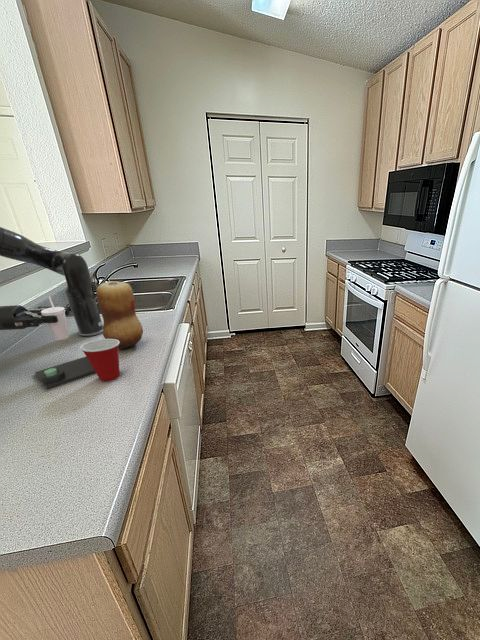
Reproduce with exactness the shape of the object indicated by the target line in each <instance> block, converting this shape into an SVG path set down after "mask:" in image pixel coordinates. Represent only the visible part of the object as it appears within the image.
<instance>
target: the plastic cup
mask: <svg viewBox="0 0 480 640" xmlns="http://www.w3.org/2000/svg"><path fill="white" fill-rule="evenodd" d="M119 343H120V342H119V340H116V339H105V338H100V339H94V340H90V341H87V342H85V343H82V344H81V345H80V346H79V349H80V351H81V352H82V353H83V354H84V355H85V357H87V358H88V360H89V362H90V364H91V365H92V367H93V369H94V371H95V372H96V373H95V374H96V376H97V377H98V379H99V380H100V381H101V382H111V381H114V380H116V379H118V378H119V377H120V373H121V372H120V359H119V358H120V357H119V349H118V348H119V347H118V346H119Z"/></svg>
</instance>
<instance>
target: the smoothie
mask: <svg viewBox="0 0 480 640" xmlns="http://www.w3.org/2000/svg"><path fill="white" fill-rule="evenodd" d="M48 300H49V303H50V306H52V308H47V309H44V310H42V311H41V313H42V315H43V316H51V315H56V316H57V318H58V322H57V323H47V325H48V326H49V328H50V330H51V332H52V334H53V336H54V337H55V340H57V341H64V340H66V339H69V338H70V332H69V328H68V327H69V326H68V321H67V317H66V316H67V315H65V311H66V310H65V308H66V307H63V306H56V307H54V306H55V305H54V302H53V299H52V297H51V295H49V296H48Z"/></svg>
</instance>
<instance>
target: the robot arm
mask: <svg viewBox="0 0 480 640" xmlns="http://www.w3.org/2000/svg"><path fill="white" fill-rule="evenodd" d="M0 257H3V258H6V259H10V260H13V261H18V262H23V263H27V264H31V265H32V264H33V265H36V266H39V267H42V268H44V269H46V270H49V271H52V272H54V273H56V274H59V275H61V276H64V279H65V282H66V286H65V288H64V292H65V295H66V298H67V302H68V303H69V304H68V305H67V304H66V305H67V306H66V305H65V307H64V308H65V310H66V311H65V316H69V315H70V311H71V313H72V315H73V318H74V321H75V324H76V327H77V331H78V334H79V336H80V337H92V336H97V335H101V334H103V326H104V323H103V321H102V318H101V313H100V310H99V307H98V305H97V304H98V303H97V301H96V299H95V298H96V297H95V295H94V292H93V287H92V286H93V282H92V278H91V277H92V276H91V273H90V269H89V266H88V264H87V261H86V260H85V258H84V257H83V256H81V255H80V254H78V253H75V252H67V251H60V250H57V249H53V248H49V247H46V246H44V245H40V244H38V243H37V242H34V241H33V240H31V239H29V238H27V237H26V236H24V235H22V234H20V233H17V232H15V231H12V230H10V229H7V228H4V227H2V226H0ZM54 307H57V305H54ZM47 308H52V305H50V306H37V308H31V309H27V308H26V307H25V306H22V305H20V304H18V305H17V304H16V305H15V304H14V305H0V331H9V330H10V331H11V330H12V331H13V330H14V331H15V330H26V329H27V328H37V327H40V325H45V324H48V323H57V322H58V318H57V316H56V315H51V316H43V315H42V313H41V311H42V310H44V309H47ZM69 310H70V311H69Z"/></svg>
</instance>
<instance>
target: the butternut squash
mask: <svg viewBox="0 0 480 640" xmlns="http://www.w3.org/2000/svg"><path fill="white" fill-rule="evenodd" d="M96 298H97V304H98V305H97V307H98V310H99V312H100V315H101V316H102V319H103V332H102V336H103V339H116V340H119V342H120V343H119V346H118V347H119V348H118V350H125V349H127V348H133V347H135V346H136V344H138V343H139V342H140V341H141V340H142V338H143V334H144V328H143V324H142V323H141V321H140V319H139V318H138V316H137V313H136V300H135V295H134V291H133V288H132V287H131V285H130V284H129V283H127V282H124V281H111V280H109V281H105V282H102V283H100V284H99V285H98V286H97V288H96Z"/></svg>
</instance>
